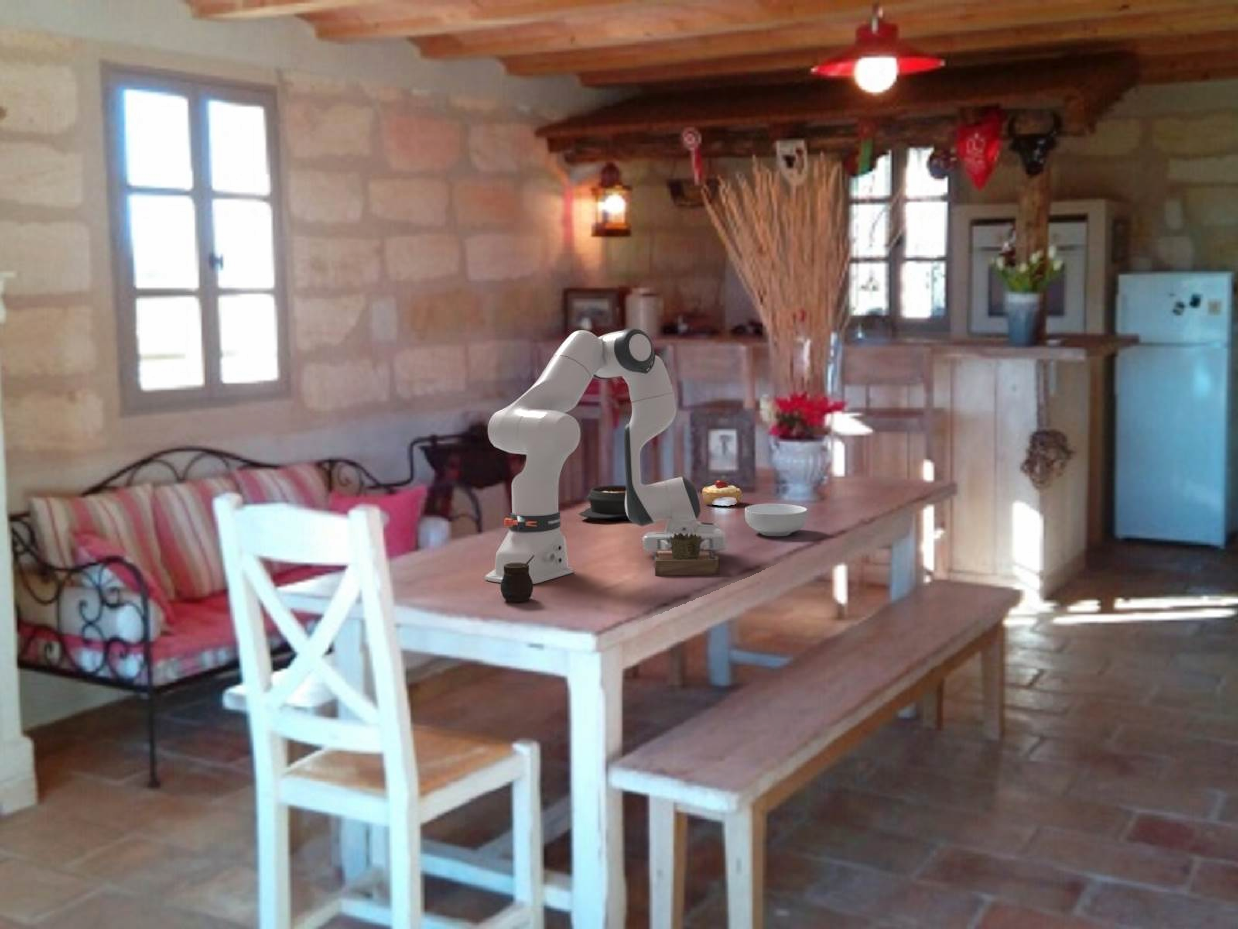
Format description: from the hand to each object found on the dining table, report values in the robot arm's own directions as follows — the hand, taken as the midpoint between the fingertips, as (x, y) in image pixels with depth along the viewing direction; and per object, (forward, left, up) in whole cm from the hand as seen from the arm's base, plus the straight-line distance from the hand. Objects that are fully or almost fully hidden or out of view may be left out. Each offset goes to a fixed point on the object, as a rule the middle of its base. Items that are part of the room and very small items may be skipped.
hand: (685, 547), depth 337 cm
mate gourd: (-42, +23, -6) cm, 48 cm away
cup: (+1, 0, -6) cm, 6 cm away
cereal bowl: (+51, -7, -6) cm, 52 cm away
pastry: (+92, +23, -6) cm, 95 cm away
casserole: (+62, +45, -6) cm, 77 cm away
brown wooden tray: (+8, +4, -5) cm, 11 cm away
